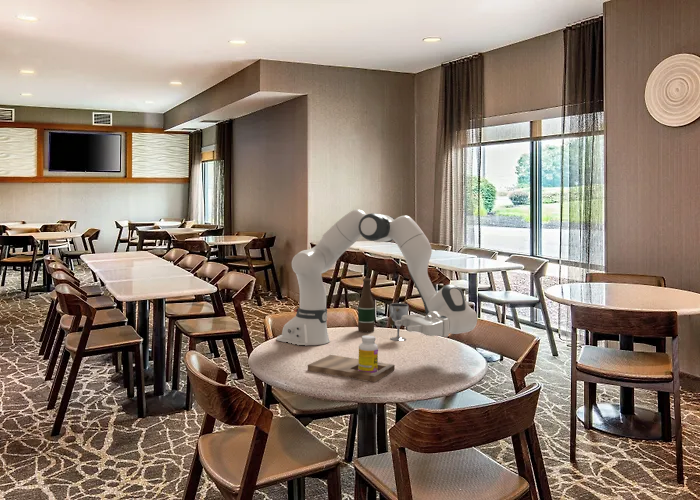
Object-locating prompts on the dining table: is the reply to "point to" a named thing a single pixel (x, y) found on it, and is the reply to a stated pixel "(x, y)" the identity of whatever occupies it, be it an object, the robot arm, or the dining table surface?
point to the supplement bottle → (368, 354)
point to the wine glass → (398, 316)
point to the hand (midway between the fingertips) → (401, 326)
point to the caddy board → (349, 368)
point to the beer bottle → (366, 309)
